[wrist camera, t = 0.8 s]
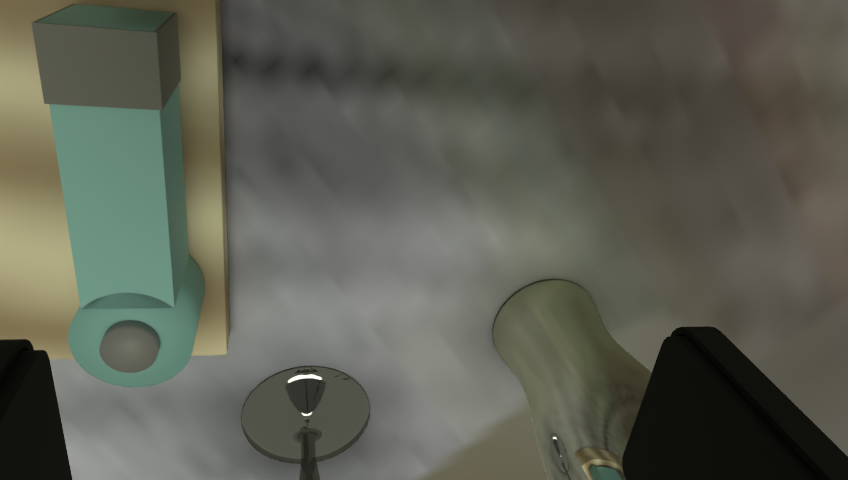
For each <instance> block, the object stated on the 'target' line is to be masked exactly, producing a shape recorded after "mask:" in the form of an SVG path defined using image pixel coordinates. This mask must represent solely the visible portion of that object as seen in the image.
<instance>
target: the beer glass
mask: <svg viewBox="0 0 848 480" xmlns="http://www.w3.org/2000/svg"><path fill="white" fill-rule="evenodd" d="M493 341H494V346H495V348H496V350H497V352H498V354H499V356H500V357H501V359H502V360H503V361H504V362H505V364H506V365H507V366H508V367H509V368H510V369H511V371H512V372H513V373H514V374H515V375H516V377H517V378H518V380H519V381H520V383H521V385H522V387H523V389H524V392H525V394H526V398H527V401H528V405H529V409H530V413H531V417H532V422H533V426H534V430H535V435H536V439H537V443H538V447H539V451H540V455H541V458H542V462H543V465H544V468H545V471H546V475H547V478H548V480H626V478H625V476H624V472H623V468H622V457H623V453H624V451H625V448H626V445H627V442H628V439H629V436H630V434H631V431H632V428H633V425H634V422H635V419H636V417H637V414H638V411H639V408H640V405H641V402H642V400H643V397H644V394H645V391H646V388H647V385H648V383H649V380H650V377H651V374H652V372H651V371H650V370H649V369H648V368H646V367H645V366H644V365H643V364H642V363H640V362H639V361H638V360H637V359H636V358H634V357H633V356H632V355H631V354H630V353H628V352H627V351H626V350H625V349H624V348H623V347H622V346H620V345H619V344H618V343H617V342H616V341H615V339H614V338H613V337H612V336H611V335H610V333H609V332H608V331H607V329H606V327H605V325H604V323H603V321H602V319H601V316H600V314H599V312H598V309H597V307H596V305H595V303H594V301H593V299H592V298H591V296H590V295H589V294H588V293H587V292H586V291H585V290H584V289H583V288H582V287H580V286H578V285H577V284H575V283H572V282H569V281H564V280H546V281H541V282H537V283H534V284H532V285H529V286H527V287H525V288H523V289H522V290H520V291H518V292H517V293H516V294H514V295H513V296H512V297H511V298H510V299H509V300H508V301H507V302H506V303H505V304H504V305H503V307H502V308H501V310H500V311H499V313H498V315H497V317H496V320H495V323H494V327H493Z"/></svg>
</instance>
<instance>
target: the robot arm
mask: <svg viewBox="0 0 848 480" xmlns="http://www.w3.org/2000/svg"><path fill="white" fill-rule="evenodd" d="M622 468H623V472H624V476H625V478H626V480H848V457H847V456H846V455H845V454H844V453H843V452H842V451H841V450H840V449H839V448H838V447H837V446H836V445H835V444H834V443H833V442H832V441H831V440H830V439H829V438H828V437H827V436H826V435H825V434H824V433H823V432H822V431H821V430H820V429H819V428H818V427H817V426H816V425H815V424H814V423H813V422H812V421H811V420H810V419H809V418H808V417H807V416H806V415H805V414H804V413H803V412H802V411H801V410H800V409H799V408H798V407H796V405H795V404H794V403H792V402H791V400H789V398H788V397H787V396H786V395H785V394H783V392H781V391H780V390H779V389H778V388H777V387H776V386H775V385H774V384H773V383H772V382H771V381H770V380H769V379H768V378H767V377H766V376H765V375H764V374H763V373H762V372H761V371H760V370H759V369H758V368H757V367H756V366H755V365H754V364H753V363H752V362H751V361H750V360H749V359H748V358H747V357H746V356H745V355H744V354H743V353H742V352H741V351H740V350H739V349H738V348H737V347H736V346H735V345H734V344H733V343H732V342H731V341H730V340H729V339H728V338H727V337H726V336H725V335H724V334H723V333H722V332H721V331H719V330H718V329H716V328H714V327H680V328H677V329H676V330H674V331H673V332H672V334H671V336H670V337H667V338H666V339H665V340H664V342H663V344H662V346H661V349H660V352H659V354H658V357H657V360H656V363H655V366H654V368H653V371H652V374H651V377H650V380H649V383H648V385H647V388H646V391H645V394H644V397H643V400H642V402H641V405H640V408H639V411H638V414H637V417H636V419H635V422H634V425H633V428H632V431H631V434H630V436H629V439H628V442H627V445H626V448H625V451H624V453H623V457H622ZM0 480H72V476H71V470H70V465H69V460H68V455H67V450H66V444H65V439H64V434H63V429H62V423H61V418H60V413H59V408H58V402H57V397H56V392H55V387H54V381H53V376H52V371H51V366H50V361H49V357H48V354H47V352H46V351H44V350H34V348H33V345H32V344H31V342H30V341H29V340H27V339H4V340H0Z"/></svg>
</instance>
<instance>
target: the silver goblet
mask: <svg viewBox="0 0 848 480" xmlns="http://www.w3.org/2000/svg"><path fill="white" fill-rule="evenodd" d="M369 417H370V405H369V400H368V397H367V395H366V393H365V391H364V390H363V388H362V387H361V386H360V384H358V383H357V382H356V381H355V380H354V379H353V378H351V377H350V376H348V375H346V374H345V373H342V372H340V371H337V370H335V369H330V368H326V367H318V366H305V367H297V368H292V369H288V370H285V371H282V372H279V373H277V374H275V375H273V376H271V377H269V378H267V379H266V380H264V381H263V382H262V383H260V384H259V385H258V386H257V387H256V388H255V389H254V390H253V391H252V392H251V394H250V395H249V396H248V398H247V399H246V401H245V404H244V406H243V409H242V415H241V424H242V428H243V432H244V434H245V436H246V438H247V439H248V441H249V443H250V444H251V445H252V446H253V447H254V448H255V449H256V450H258V451H259V452H260V453H262V454H263V455H265V456H267V457H269V458H272V459H275V460H278V461H281V462H287V463H297V464H301V467H300V477H299V480H320V477H319V472H318V466H317V462H318V461H323V460H326V459H329V458H332V457H334V456H336V455H338V454H340V453H342V452H343V451H345V450H346V449H348V448H349V447H351V446H352V445H353V444H354V443H355V442H356V441H357V440H358V439H359V437H360V436H361V435H362V434H363V432H364V430H365V428H366V426H367V424H368V420H369Z"/></svg>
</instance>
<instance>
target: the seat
mask: <svg viewBox="0 0 848 480" xmlns="http://www.w3.org/2000/svg"><path fill="white" fill-rule="evenodd" d="M71 4H83V5H94V6H105V7H117V8H128V9H139V10H151V11H162V12H173V13H177V22H178V39H179V56H180V73H181V80H180V82H179V84H178V86H179V103H180V119H181V135H182V152H183V168H184V185H185V201H186V217H187V234H188V250H189V257H190V258H191V259H192V260H193V261H194V262H195V263H196V264H197V266H198V267H199V269H200V271H201V273H202V275H203V278H204V282H205V294H204V299H203V304H202V308H201V313H200V318H199V323H198V327H197V332H196V337H195V342H194V346H193V351H192V354H191V356H198V355H227V350H228V343H229V335H230V309H229V275H228V241H227V206H226V172H225V138H224V104H223V70H222V36H221V1H220V0H0V340H4V339H27V340H29V341H30V342H31V344H32V345H33V348H34V350H44V351H46V352H47V354H48V357H49V359H75V358H74V357H73V355H72V353H71V351H70V347H69V344H68V331H69V327H70V324H71V322H72V320H73V318H74V316H75V314H76V312H77V310H78V308H79V306H80V300H79V294H78V288H77V281H76V275H75V268H74V262H73V255H72V249H71V242H70V236H69V229H68V223H67V217H66V210H65V204H64V197H63V191H62V184H61V178H60V171H59V165H58V159H57V152H56V146H55V139H54V133H53V126H52V120H51V113H50V107H49V104H44V99H43V93H42V87H41V80H40V74H39V68H38V61H37V55H36V49H35V42H34V36H33V30H32V23H31V22H33V21H36V20H38V19H40V18H42V17H44V16H47V15H49V14H51V13H53V12H56V11H58V10H60V9H62V8H64V7H67V6H69V5H71Z"/></svg>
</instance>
